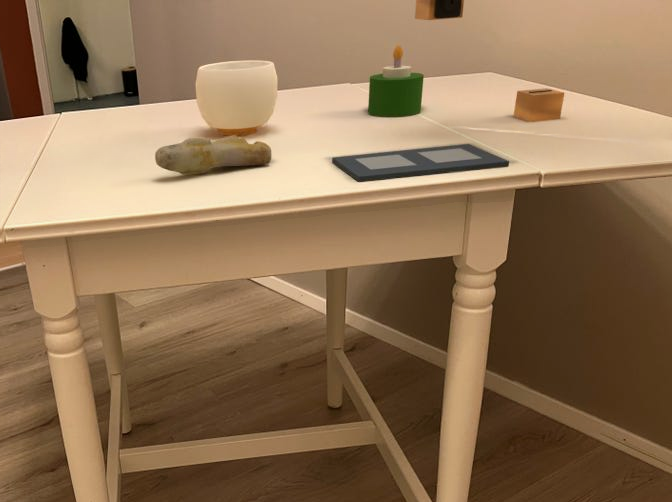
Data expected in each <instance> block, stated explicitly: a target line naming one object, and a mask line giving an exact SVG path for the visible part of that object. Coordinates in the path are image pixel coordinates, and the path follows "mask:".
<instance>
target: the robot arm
mask: <svg viewBox="0 0 672 502" xmlns="http://www.w3.org/2000/svg"><path fill="white" fill-rule="evenodd" d="M461 3H462V0H435V12H434V17H435V18H438V19H439V18H450V19H452V18H451V17H458V16H460V13H461ZM439 20H440V19H439Z"/></svg>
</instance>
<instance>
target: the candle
mask: <svg viewBox="0 0 672 502" xmlns="http://www.w3.org/2000/svg"><path fill="white" fill-rule="evenodd" d="M403 55H404V51H403V47H402V46H401V45H399V44H398V45H397V46H395V48H394V50H393V53H392V57H393V65H388V66H384V67H382V73H377V74H373V75H371V76H369V85H368V86H369V87H368V107H367V113H368V115H370V116H372V117H373V116H375V117H382V118H383V117H384V118H402V117H409V116H414V115H418V114H420V113H421V111H422V102H423V101H422V99H423V91H424V90H423V88H424V77H425V75H424V74H423V73H420V72H412V66H410V65H402V58H403Z"/></svg>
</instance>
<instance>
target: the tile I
mask: <svg viewBox="0 0 672 502" xmlns="http://www.w3.org/2000/svg"><path fill="white" fill-rule="evenodd" d="M564 98H565V92H564V91H560V90H555V89H553V88H552V89H551V88H545V87H544V88H535V89H534V88H533V89H524V90H517V91H516V97H515V103H514V110H513V117H514V118H517V119H519V120H523V121H526V122H530V123H532V122H533V123H534V122H542V121H552V120H561V115H562V109H563V103H564Z"/></svg>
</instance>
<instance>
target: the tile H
mask: <svg viewBox="0 0 672 502" xmlns="http://www.w3.org/2000/svg"><path fill="white" fill-rule="evenodd" d="M464 4H465V0H462V3H461V13H460V16H458V17H451V18H439V19H438V18H435V17H434V12H435V0H415V9H414V10H415V11H414V19H415V20H421V21H437V20H449V19H461V18H463V15H464Z"/></svg>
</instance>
